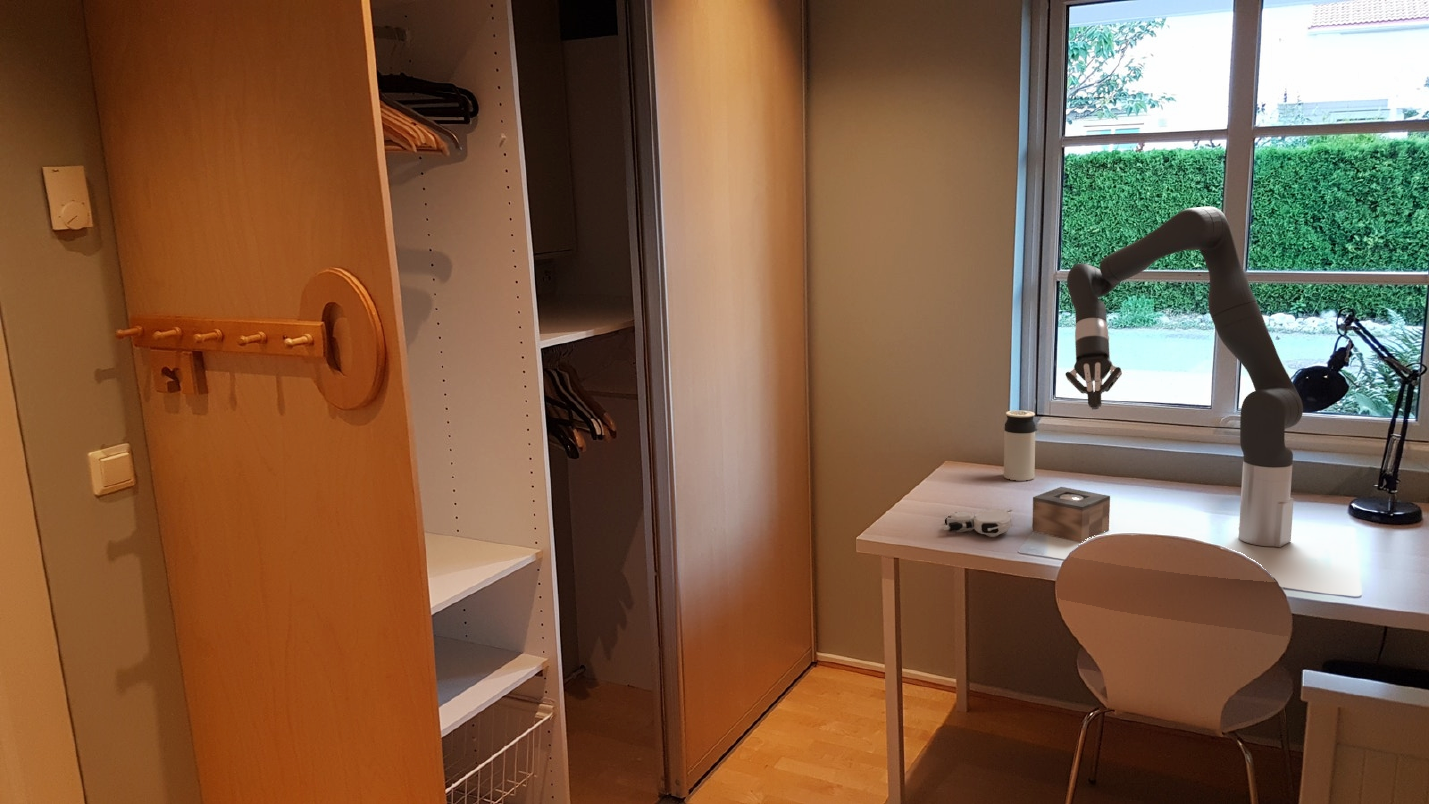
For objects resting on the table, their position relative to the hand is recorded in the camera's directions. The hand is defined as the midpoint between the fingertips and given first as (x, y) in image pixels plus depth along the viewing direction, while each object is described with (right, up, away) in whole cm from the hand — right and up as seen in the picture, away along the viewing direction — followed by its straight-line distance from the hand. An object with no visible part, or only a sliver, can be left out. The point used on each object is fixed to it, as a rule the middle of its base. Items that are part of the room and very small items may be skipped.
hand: (1095, 408), depth 237 cm
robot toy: (-29, -29, -5) cm, 41 cm away
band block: (-8, -28, -7) cm, 30 cm away
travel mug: (-6, -19, +39) cm, 44 cm away
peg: (-8, -28, -7) cm, 30 cm away
